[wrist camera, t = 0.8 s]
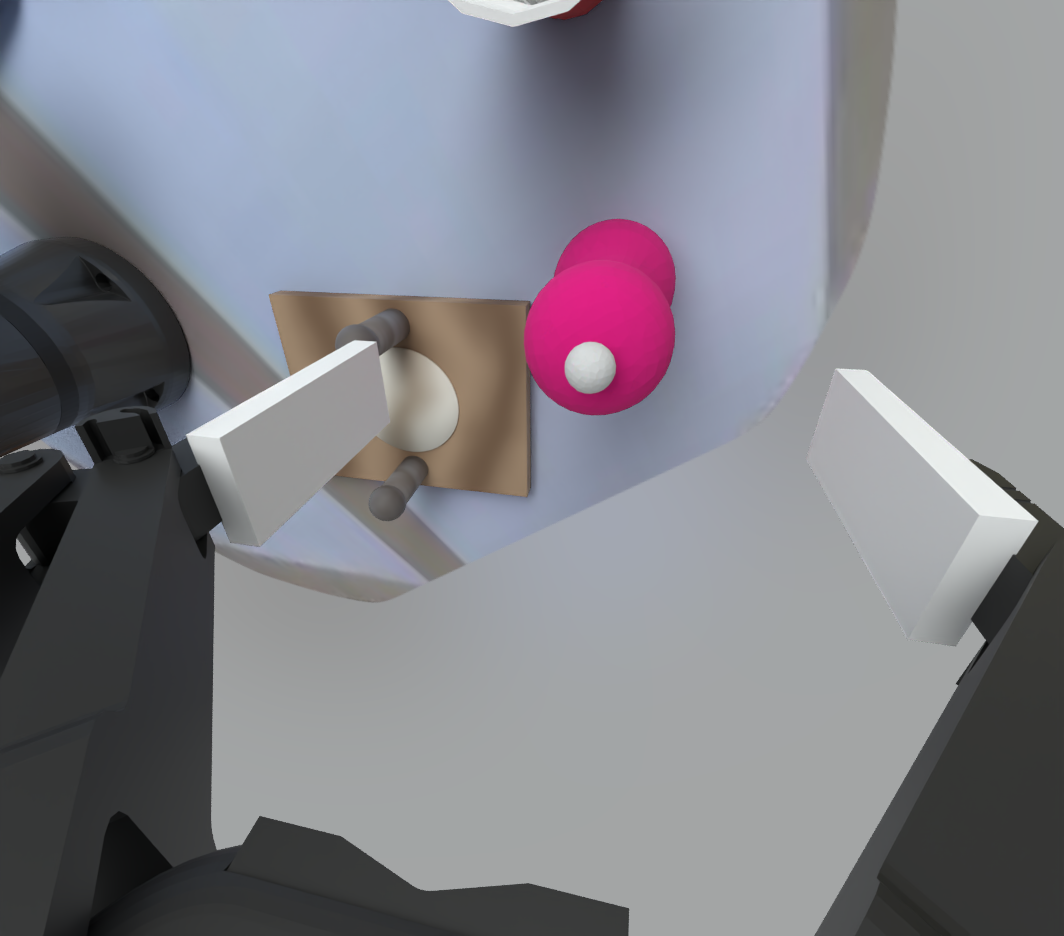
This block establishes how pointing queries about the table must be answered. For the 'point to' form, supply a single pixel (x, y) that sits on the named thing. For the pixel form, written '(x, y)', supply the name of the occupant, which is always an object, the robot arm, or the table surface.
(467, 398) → the holder
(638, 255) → the pepper mill
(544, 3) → the plastic cup
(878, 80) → the table surface
